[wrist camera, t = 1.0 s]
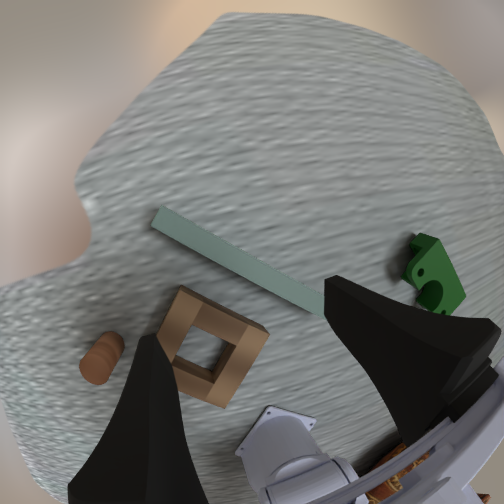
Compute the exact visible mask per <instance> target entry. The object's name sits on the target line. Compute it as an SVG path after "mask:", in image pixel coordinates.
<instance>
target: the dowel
mask: <svg viewBox="0 0 504 504" xmlns="http://www.w3.org/2000/svg"><path fill="white" fill-rule="evenodd" d="M124 348H125V344H124V341H123V339H122V337H121V336H120V335H119V334H117V333H115V332H112V331H108V332H105V333H104V334H103V335H102V336H101V337H100V338H99V339H98V340H97V342H96V343H95V344H94V345H93V346H92V348H91V349H90V350H89V351H88V352H87V353H86V355H85V356H84V357H83V358H82V360H81V361H80V364H79V368H80V372H81V374H82V376H83V377H84V378H85V379H86V380H87V381H88V382H90V383H92V384H95V385H102V384H104V383H106V382H107V380H108V378H109V376H110V375H111V373H112V371H113V369H114V367H115V365H116V364H117V362H118V360H119V358H120V356H121V355H122V353H123V351H124Z"/></svg>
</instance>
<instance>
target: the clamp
mask: <svg viewBox="0 0 504 504" xmlns="http://www.w3.org/2000/svg"><path fill="white" fill-rule="evenodd" d="M409 245H410V247H411V249H412V250H413V252H414V254H415V255H416V256H415V257H414V258H413V259H412V260H411V261H410V262H409V264H408V265H407V268H406V271H405V272H404V273H403V275H402V276H401V278H402V279H403V280H404V281H406V282H407V283H409V284H410V285H412V286H413V287H415V288H416V289H418V290H419V291H420V289H421V288H422V286H423V285H424V284H425V288H424V290H423V292H422V294H421V295H420V296H419V297H418V298H417V299H416V301H417V303H419V304H420V305H421V306H423V307H424V308H425V309H427V310H428V311H430V312H434V313H439V314H444V315H451V314H452V313H453V311H454V310H455V309H456V308H457V307H458V306H459V305H460V303H461V302H462V301H463V300H464V299H465V298H466V294H465V292H464V290H463V287H462V285H461V283H460V280H459V278H458V276H457V274H456V272H455V269H454V267H453V265H452V263H451V261H450V259H449V257H448V255H447V253H446V251H445V249H444V247H443V245H442V243H441V241H440V239H438V238H435V237H432V236H429V235H426V234H423V233H419V234H418V235H417V236H416V237H415V238H414V239H413V240H412V242H411V243H410V244H409Z"/></svg>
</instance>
